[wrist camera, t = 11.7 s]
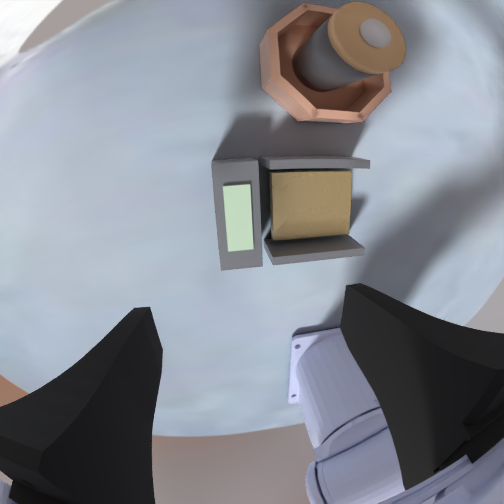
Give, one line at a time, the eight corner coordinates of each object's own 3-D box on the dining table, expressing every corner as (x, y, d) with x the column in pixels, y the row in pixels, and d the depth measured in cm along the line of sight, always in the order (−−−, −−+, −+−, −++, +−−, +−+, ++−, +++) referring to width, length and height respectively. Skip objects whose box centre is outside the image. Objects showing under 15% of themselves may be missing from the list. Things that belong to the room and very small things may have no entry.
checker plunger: (344, 230, 19) (349, 233, 18) (271, 236, 18) (273, 240, 17) (346, 170, 17) (351, 171, 16) (269, 171, 16) (271, 173, 16)
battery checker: (344, 239, 20) (365, 256, 17) (219, 250, 19) (221, 272, 16) (347, 156, 17) (371, 160, 14) (211, 160, 16) (211, 164, 13)
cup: (369, 126, 17) (393, 125, 14) (262, 121, 16) (272, 117, 13) (360, 31, 14) (382, 19, 11) (256, 18, 13) (264, -1, 10)
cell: (346, 94, 15) (415, 77, 8) (293, 89, 15) (343, 60, 8) (342, 46, 14) (404, 11, 7) (290, 40, 13) (333, -10, 7)
